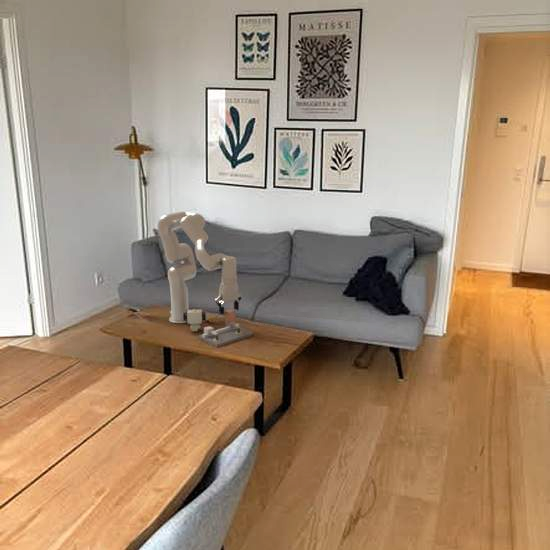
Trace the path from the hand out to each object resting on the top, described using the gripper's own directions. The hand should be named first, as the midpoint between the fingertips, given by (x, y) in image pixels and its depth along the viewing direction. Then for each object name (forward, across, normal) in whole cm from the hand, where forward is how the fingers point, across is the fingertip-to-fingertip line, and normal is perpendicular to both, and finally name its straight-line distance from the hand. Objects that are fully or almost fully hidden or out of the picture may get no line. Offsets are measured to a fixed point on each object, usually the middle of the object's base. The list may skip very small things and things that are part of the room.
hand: (228, 311), depth 285 cm
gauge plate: (+11, +6, +5) cm, 14 cm away
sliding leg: (+9, 0, +4) cm, 10 cm away
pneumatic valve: (+12, +12, -14) cm, 22 cm away
